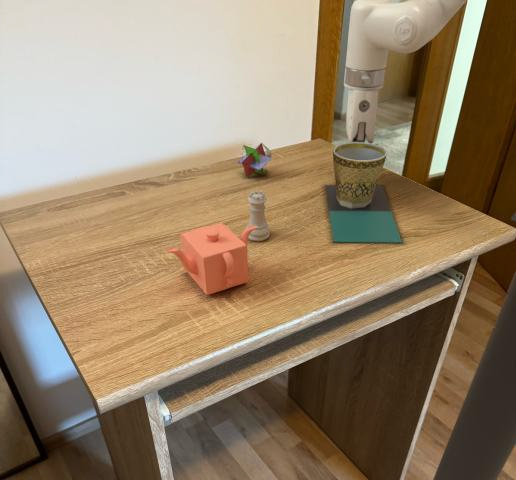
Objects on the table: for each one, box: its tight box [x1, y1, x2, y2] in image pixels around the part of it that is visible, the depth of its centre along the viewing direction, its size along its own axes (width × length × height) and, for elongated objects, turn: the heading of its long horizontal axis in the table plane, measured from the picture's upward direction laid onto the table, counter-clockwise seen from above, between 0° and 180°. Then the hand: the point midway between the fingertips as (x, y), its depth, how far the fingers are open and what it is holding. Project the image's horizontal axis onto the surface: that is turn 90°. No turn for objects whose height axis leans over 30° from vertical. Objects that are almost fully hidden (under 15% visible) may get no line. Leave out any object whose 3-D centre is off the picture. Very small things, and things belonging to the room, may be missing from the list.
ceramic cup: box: [332, 141, 388, 208], centre depth 95 cm, size 13×10×10 cm
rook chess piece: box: [245, 190, 271, 242], centre depth 85 cm, size 4×4×8 cm
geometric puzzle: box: [237, 142, 273, 179], centre depth 107 cm, size 7×7×8 cm
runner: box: [325, 184, 403, 244], centre depth 95 cm, size 12×24×1 cm, turn 177°
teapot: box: [165, 222, 257, 296], centre depth 75 cm, size 12×15×8 cm
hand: (353, 171), depth 105 cm, fingers closed
